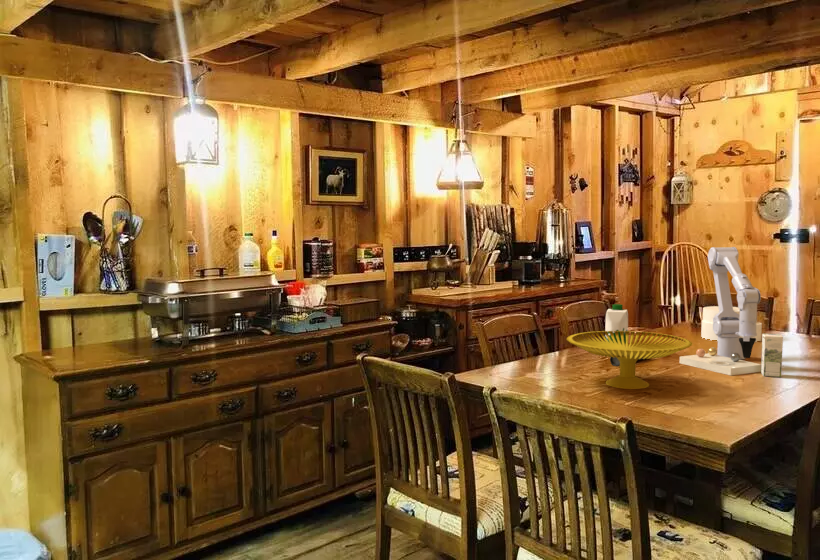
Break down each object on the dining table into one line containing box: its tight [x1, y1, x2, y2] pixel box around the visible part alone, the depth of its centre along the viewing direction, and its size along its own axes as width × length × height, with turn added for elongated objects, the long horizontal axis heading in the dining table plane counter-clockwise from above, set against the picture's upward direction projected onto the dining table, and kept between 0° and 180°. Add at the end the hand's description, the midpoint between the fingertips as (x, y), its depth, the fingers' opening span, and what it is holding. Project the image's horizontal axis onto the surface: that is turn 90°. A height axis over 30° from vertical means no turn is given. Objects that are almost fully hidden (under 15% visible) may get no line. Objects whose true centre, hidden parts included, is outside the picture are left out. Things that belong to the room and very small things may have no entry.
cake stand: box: [566, 330, 693, 390], centre depth 234 cm, size 40×40×15 cm
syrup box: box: [760, 333, 784, 378], centre depth 244 cm, size 6×6×14 cm
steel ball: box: [731, 353, 741, 362], centre depth 256 cm, size 3×3×3 cm
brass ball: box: [707, 346, 717, 356], centre depth 268 cm, size 3×3×3 cm
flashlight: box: [609, 357, 647, 367], centre depth 270 cm, size 5×21×5 cm, turn 129°
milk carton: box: [604, 303, 629, 344], centre depth 287 cm, size 9×9×20 cm
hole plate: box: [679, 352, 761, 376], centre depth 259 cm, size 15×24×2 cm, turn 23°
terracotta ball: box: [695, 348, 706, 357], centre depth 266 cm, size 3×3×3 cm
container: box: [700, 305, 763, 343], centre depth 319 cm, size 20×25×14 cm
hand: (746, 357), depth 259 cm, fingers closed
